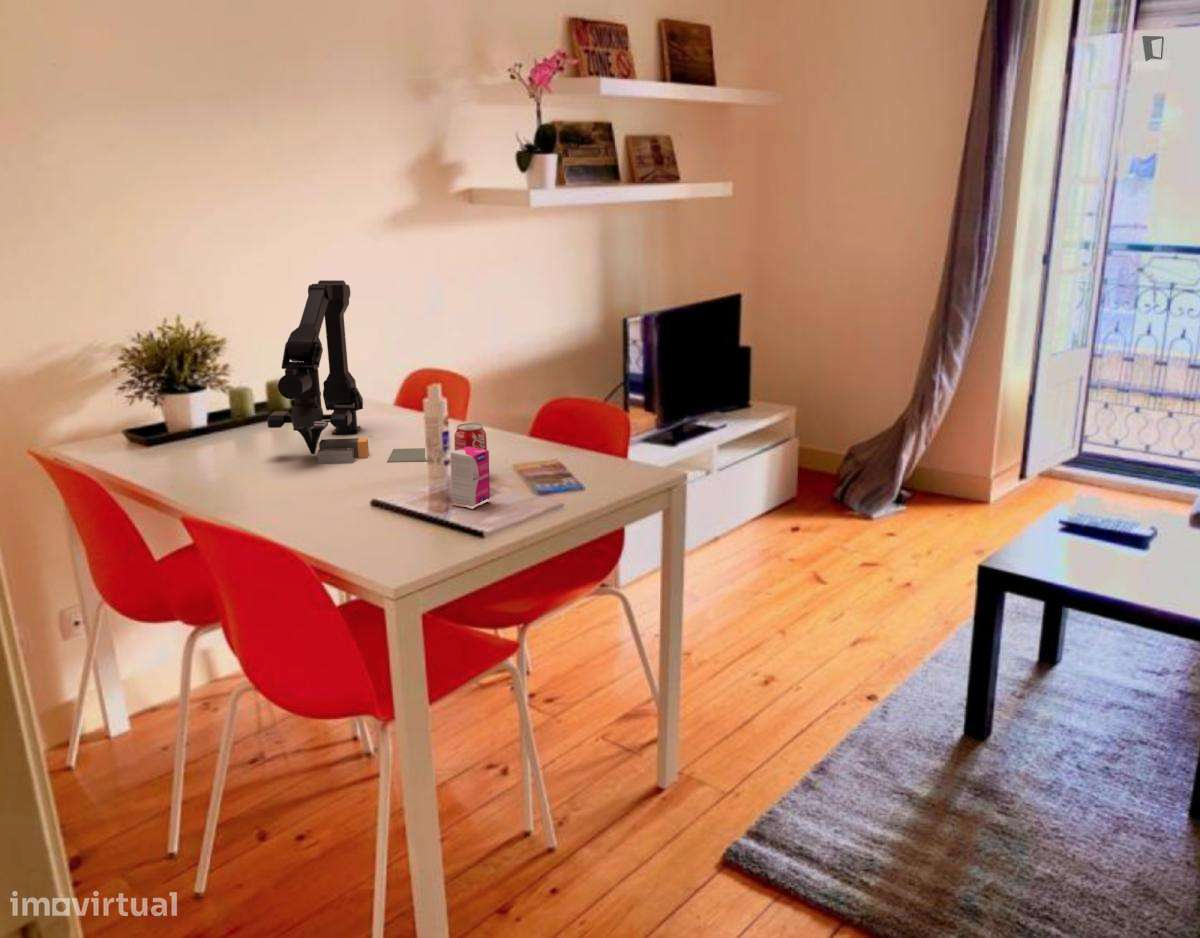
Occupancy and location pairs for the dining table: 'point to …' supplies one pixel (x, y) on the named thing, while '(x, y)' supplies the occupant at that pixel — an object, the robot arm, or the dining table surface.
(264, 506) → the dining table surface
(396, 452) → the mat
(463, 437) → the soda can
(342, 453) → the housing
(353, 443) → the grey orange block
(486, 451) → the supplement box
